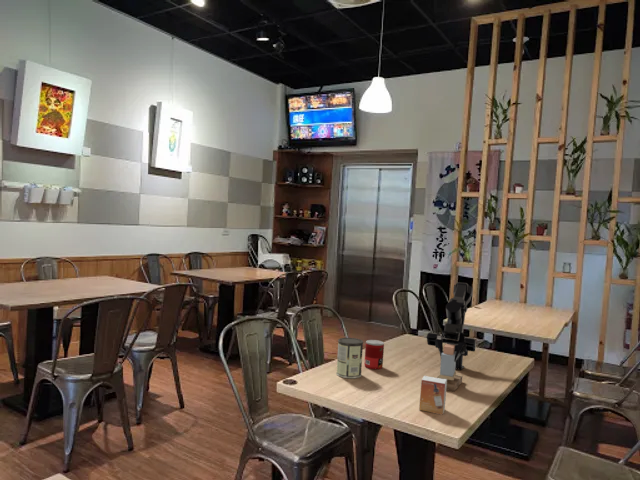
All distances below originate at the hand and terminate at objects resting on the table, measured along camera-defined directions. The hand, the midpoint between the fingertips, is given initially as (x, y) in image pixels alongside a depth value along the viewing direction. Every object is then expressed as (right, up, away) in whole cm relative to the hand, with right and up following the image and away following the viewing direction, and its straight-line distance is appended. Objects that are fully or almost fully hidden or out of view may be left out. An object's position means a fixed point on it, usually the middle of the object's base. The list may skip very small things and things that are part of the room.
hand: (448, 360), depth 186 cm
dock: (+1, -10, +3) cm, 11 cm away
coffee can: (-38, -8, +8) cm, 40 cm away
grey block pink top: (0, -7, +1) cm, 7 cm away
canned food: (-27, -9, +21) cm, 35 cm away
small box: (-12, -11, -25) cm, 30 cm away
